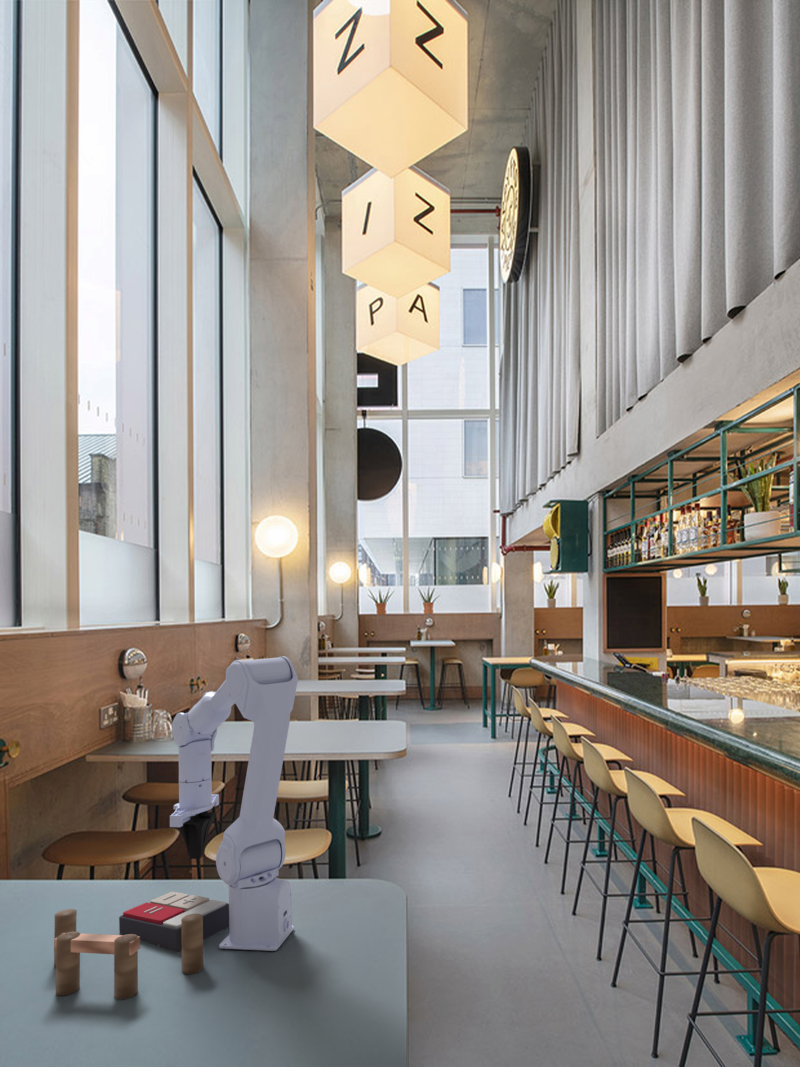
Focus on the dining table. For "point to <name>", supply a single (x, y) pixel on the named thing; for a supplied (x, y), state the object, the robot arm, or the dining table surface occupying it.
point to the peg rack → (115, 953)
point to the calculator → (173, 918)
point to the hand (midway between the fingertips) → (196, 857)
